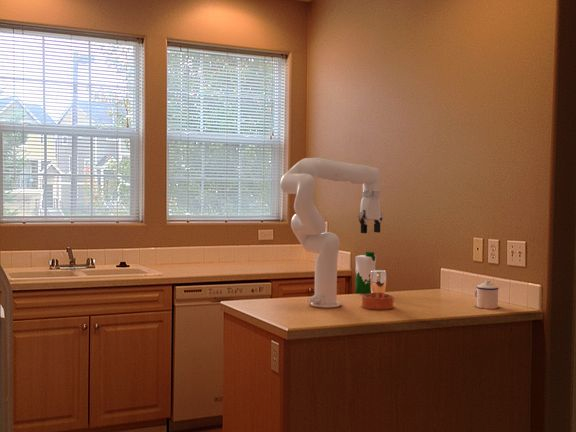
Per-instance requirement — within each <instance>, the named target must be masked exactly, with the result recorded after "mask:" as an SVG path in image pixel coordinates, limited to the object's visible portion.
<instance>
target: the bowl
mask: <svg viewBox="0 0 576 432" xmlns="http://www.w3.org/2000/svg"><path fill="white" fill-rule="evenodd" d="M394 299H395V296H394V295H393V294H388V293H385V294H384V298H372V295H371V293H370V294H361V306H362V307H363V308H365V309H367V310H374V311H387V310H391V309H393V308H394V302H395V301H394Z"/></svg>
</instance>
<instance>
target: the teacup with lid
mask: <svg viewBox="0 0 576 432" xmlns="http://www.w3.org/2000/svg"><path fill="white" fill-rule="evenodd" d="M474 297H475V299H476V307H477V308H479V309H484V310H495V309H497V308H498V306H499V286H498V285H496V284H494V283H492V282H491V280H490V279H485V280H484V282H482V283H480V284H477V285H476V289H475V290H474Z"/></svg>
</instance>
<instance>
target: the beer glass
mask: <svg viewBox="0 0 576 432" xmlns="http://www.w3.org/2000/svg"><path fill="white" fill-rule="evenodd" d="M386 288H387V270H383V269H375V270H371V272H370V289H371V295H372V298H384V294H386V290H387V289H386Z"/></svg>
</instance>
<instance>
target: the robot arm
mask: <svg viewBox="0 0 576 432" xmlns="http://www.w3.org/2000/svg"><path fill="white" fill-rule="evenodd" d="M315 179H322V180H328V181H333V182H349V183H351V184H354V185H362V197H361V200H360V206H359V207H360V208H359V213H358V214H357V218H358V221H359V225H360V234H367V233H368V224H367V223H368V222H369V221H373V233H381V224H382V221H383V219H384V213H382V212H381V209H382V208H381V198H380V187H381V186H380V181H381V180H380V179H381V172H380V168H377V167H373V166H370V165H365V164H359V163H350V162H345V161H339V160H333V159H329V158H323V157H305V158H302V159H301V160H299V161H297V162H296V163H295V164H294V165H292V167H290V169H289V170H288V171H287V172H285V173H284V175H282V177H281V178H280V183H279V185H280V189H281V190H282V192H283V193H285V194H287V195H288V194H289V195H295V198H294V203H293V209H294V213H295V214H294V215H293V216H292V217H291V219H290V220H291V221H290V227H291V231H292V232H293V234H294V236H295V237H296V239H297V241H298V242H299V243H300V245H301V246H302V248H303V249H304V250H305V251H306V252H308V253H312V254H318V255H317V256H316V259H315V262H314V294H313V295H312V297H310V298H307V299H306V302H307V303H308V304H310V306H311V307H315V308H326V309H327V308H329V309H330V308H331V309H332V308H338V307H340V306H341V302H340V301H337V299H338V258H339V257H338V256H339V251H340V245H341V243H340V242H341V241H340V238H339V236H338V235H337V234H336V233H334V232H331V231H326V227H327V226H326V222H325V220H324V218H323V216H322V215H321V213H320V212H319V210H318V208H317V207H316V205H315V202H314V192H315V189H316V180H315Z"/></svg>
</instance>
